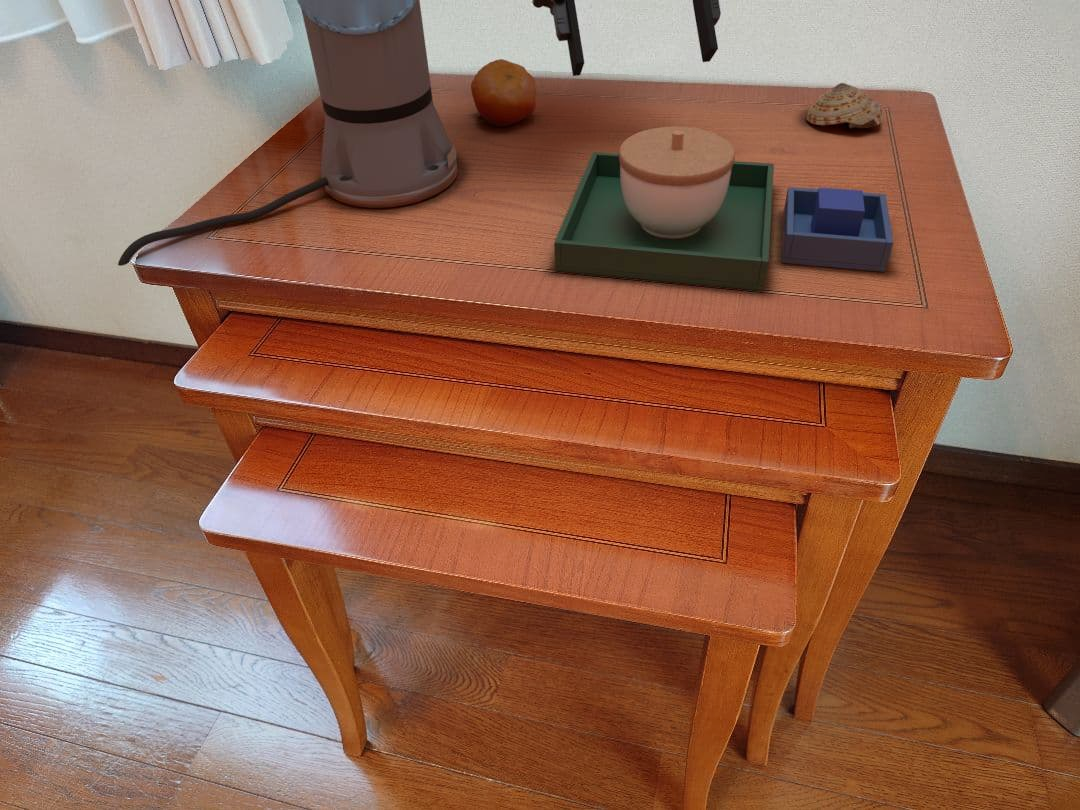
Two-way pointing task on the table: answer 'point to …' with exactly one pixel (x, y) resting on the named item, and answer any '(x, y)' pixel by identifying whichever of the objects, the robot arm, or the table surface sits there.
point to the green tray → (703, 258)
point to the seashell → (845, 108)
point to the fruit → (503, 93)
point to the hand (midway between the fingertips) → (645, 62)
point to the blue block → (838, 212)
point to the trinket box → (675, 178)
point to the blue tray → (836, 249)
